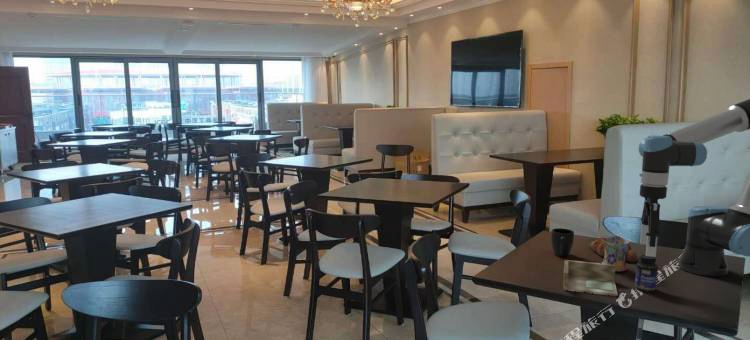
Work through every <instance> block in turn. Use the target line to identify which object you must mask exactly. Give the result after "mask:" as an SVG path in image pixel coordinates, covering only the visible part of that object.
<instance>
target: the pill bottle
mask: <svg viewBox="0 0 750 340" xmlns="http://www.w3.org/2000/svg"><path fill="white" fill-rule="evenodd" d="M656 262H657V256H656V257H651V256H646V253H644V254H640V255H639V261H638V262H636V268H635V269H636V270H635V279H634V280H635V281H634V288H635V289H636V290H637V291H641V292H644V293H653V292H655V291H656V289H657V280H658V270H659V269H658V267H659V266H658V264H656Z"/></svg>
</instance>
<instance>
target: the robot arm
mask: <svg viewBox="0 0 750 340" xmlns="http://www.w3.org/2000/svg"><path fill="white" fill-rule="evenodd" d="M747 130H750V98H749V99H745V100H743V101H740V102H738V103H735V104H732V105H730V106H728V107H727V108H726V109H725V111H723V112H719V113H718V114H715V115H712V116H709V117H707V118H705V119H702V120H699V121H697V122H693V123H692V124H689V125H686V126H683V127H681V128H679V129H676V130H674V131H672V132H669V133H666V134H663V135H656V134H655V135H647V136H646V137H645V138H643V139H642V140H641V141H640V142H639V144H638V154H639V155H640V156H641V157H642V162H641V163H642V165H641V166H642V167H641V173H639V174H638V175H639V177H641V178H640V182H641V184H640V185H639V186H640V187H639V196H640V197H642V198H644V202H643V207H642V208H643V209H642V213H641V219H640V220H641V230H640V240H639V244H640V245H645V246H646V248H645V254H646V256H651V257H656V258H657V249H658V247H657V246H658V237H659V236H660V215H661V213H660V210H661V204H660V203H659V202H658V201H659V200H664V199H666V198H667V194H668V187H667V186H668V183H669V177H670V173H669V172H670V168H671V167H696V166H701V165H703V164H704V163H705V162H706V160H707V157H708V150H707V147H706V146H705V145H704V144H707V143H708V142H711V141H713V140H715V139H719V138H721V137H724V136H726V135H729V134H732V133H735V132H737V133H743V132H745V131H747ZM686 228H687V230H686V242H685V247H684V250H683V251H682V253H681V255H680V257H679V260H678V268H679V269H681V270H683V271H686V272H688V273H692V274H694V275H695V274H696V275H699V276H705V277H724V276H727V275H728V273H729V265H728V262H727V258H726V255H725V251H729V252H732V253H734V254H736V255H740V256H744V257H750V171H748V175H747V177H746V180H745V181H744V184H743V187H742V189H741V192H740V193H739V196H738V199H737V201H736V203H735V205H732V206H730V207H725V206H717V205H716V206H713V205H700V206H692V207H691V208H690V209H689V213H688V216H687V227H686Z"/></svg>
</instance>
